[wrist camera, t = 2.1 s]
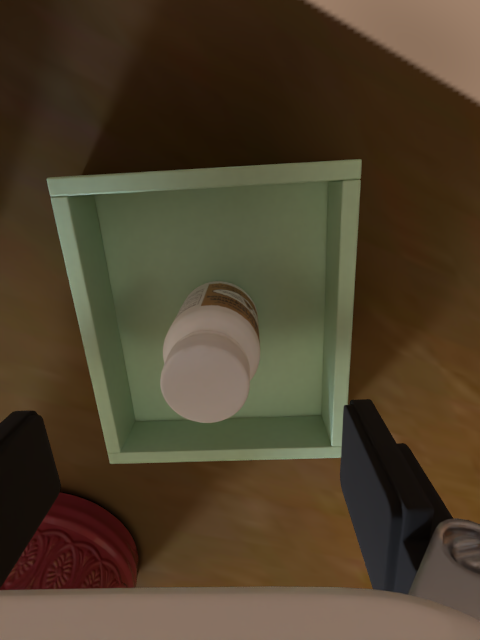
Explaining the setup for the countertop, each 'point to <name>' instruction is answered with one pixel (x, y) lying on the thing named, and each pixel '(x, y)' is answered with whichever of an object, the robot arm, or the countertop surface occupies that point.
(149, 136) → the countertop surface
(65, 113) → the countertop surface
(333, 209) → the tray
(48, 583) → the kitchen canister
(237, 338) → the pill bottle
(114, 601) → the robot arm
